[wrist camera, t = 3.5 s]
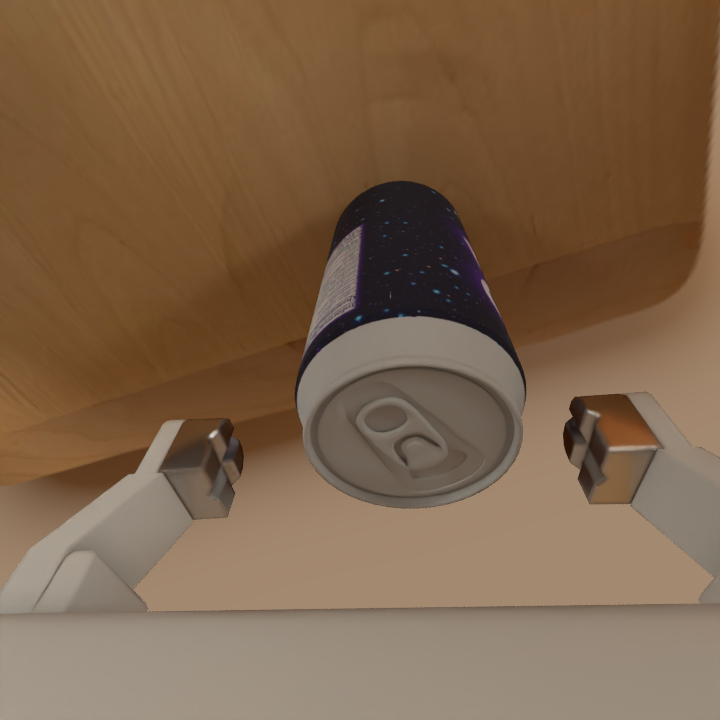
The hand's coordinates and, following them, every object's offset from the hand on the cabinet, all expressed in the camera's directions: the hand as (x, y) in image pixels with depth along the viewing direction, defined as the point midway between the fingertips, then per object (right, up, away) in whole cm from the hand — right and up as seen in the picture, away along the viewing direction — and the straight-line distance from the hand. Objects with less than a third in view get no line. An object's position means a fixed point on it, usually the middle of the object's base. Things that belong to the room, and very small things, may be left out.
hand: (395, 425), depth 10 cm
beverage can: (+1, +7, +9) cm, 11 cm away
